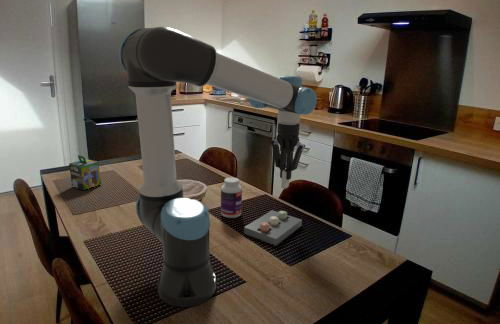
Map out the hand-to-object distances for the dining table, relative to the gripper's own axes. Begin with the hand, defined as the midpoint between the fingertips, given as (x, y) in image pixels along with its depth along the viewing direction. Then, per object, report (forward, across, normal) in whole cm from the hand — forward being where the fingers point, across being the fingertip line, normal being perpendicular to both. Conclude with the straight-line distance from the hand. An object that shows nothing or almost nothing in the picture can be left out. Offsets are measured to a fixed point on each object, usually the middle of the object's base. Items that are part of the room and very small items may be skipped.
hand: (284, 187), depth 125 cm
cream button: (+13, 0, +6) cm, 14 cm away
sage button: (+13, 0, 0) cm, 13 cm away
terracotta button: (+13, 0, +12) cm, 18 cm away
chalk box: (+14, +89, +25) cm, 94 cm away
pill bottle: (+15, +20, +6) cm, 25 cm away
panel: (+14, 0, +6) cm, 16 cm away
